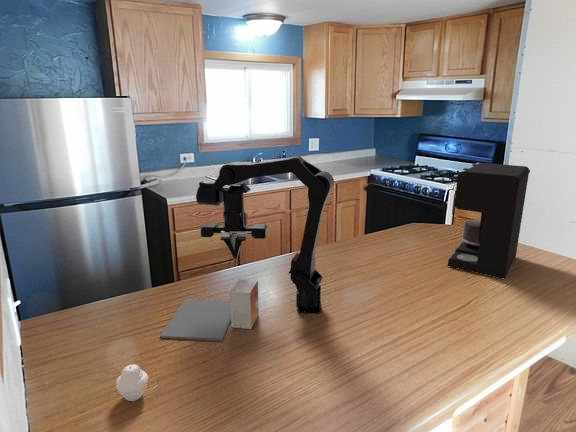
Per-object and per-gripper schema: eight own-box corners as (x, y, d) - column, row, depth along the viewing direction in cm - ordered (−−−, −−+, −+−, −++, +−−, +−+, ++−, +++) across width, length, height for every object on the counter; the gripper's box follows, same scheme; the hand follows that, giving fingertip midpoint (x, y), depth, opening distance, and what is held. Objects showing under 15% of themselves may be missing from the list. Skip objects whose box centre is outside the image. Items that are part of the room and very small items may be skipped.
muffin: (110, 402, 82) (106, 371, 80) (132, 383, 88) (128, 354, 86) (136, 410, 80) (132, 379, 78) (156, 389, 86) (153, 360, 84)
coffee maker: (464, 244, 170) (475, 160, 161) (518, 254, 159) (532, 164, 150) (445, 266, 148) (455, 169, 139) (505, 279, 137) (521, 175, 128)
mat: (238, 303, 122) (238, 301, 122) (222, 340, 103) (222, 338, 103) (186, 300, 123) (185, 299, 123) (160, 337, 104) (159, 335, 104)
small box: (251, 330, 108) (250, 293, 105) (230, 327, 109) (229, 291, 106) (259, 315, 115) (258, 280, 112) (240, 313, 116) (238, 278, 114)
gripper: (270, 200, 124) (270, 249, 128) (209, 199, 126) (212, 247, 130) (264, 210, 113) (265, 263, 118) (198, 208, 115) (201, 261, 119)
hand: (235, 258), depth 121 cm, fingers closed
